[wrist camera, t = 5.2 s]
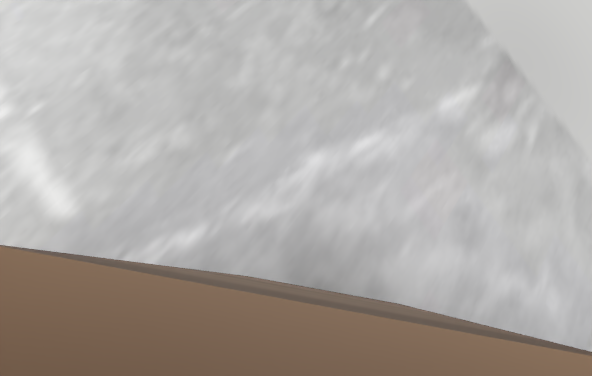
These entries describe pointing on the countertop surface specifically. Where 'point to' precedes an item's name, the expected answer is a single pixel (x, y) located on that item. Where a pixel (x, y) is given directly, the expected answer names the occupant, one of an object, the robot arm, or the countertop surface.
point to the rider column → (235, 327)
